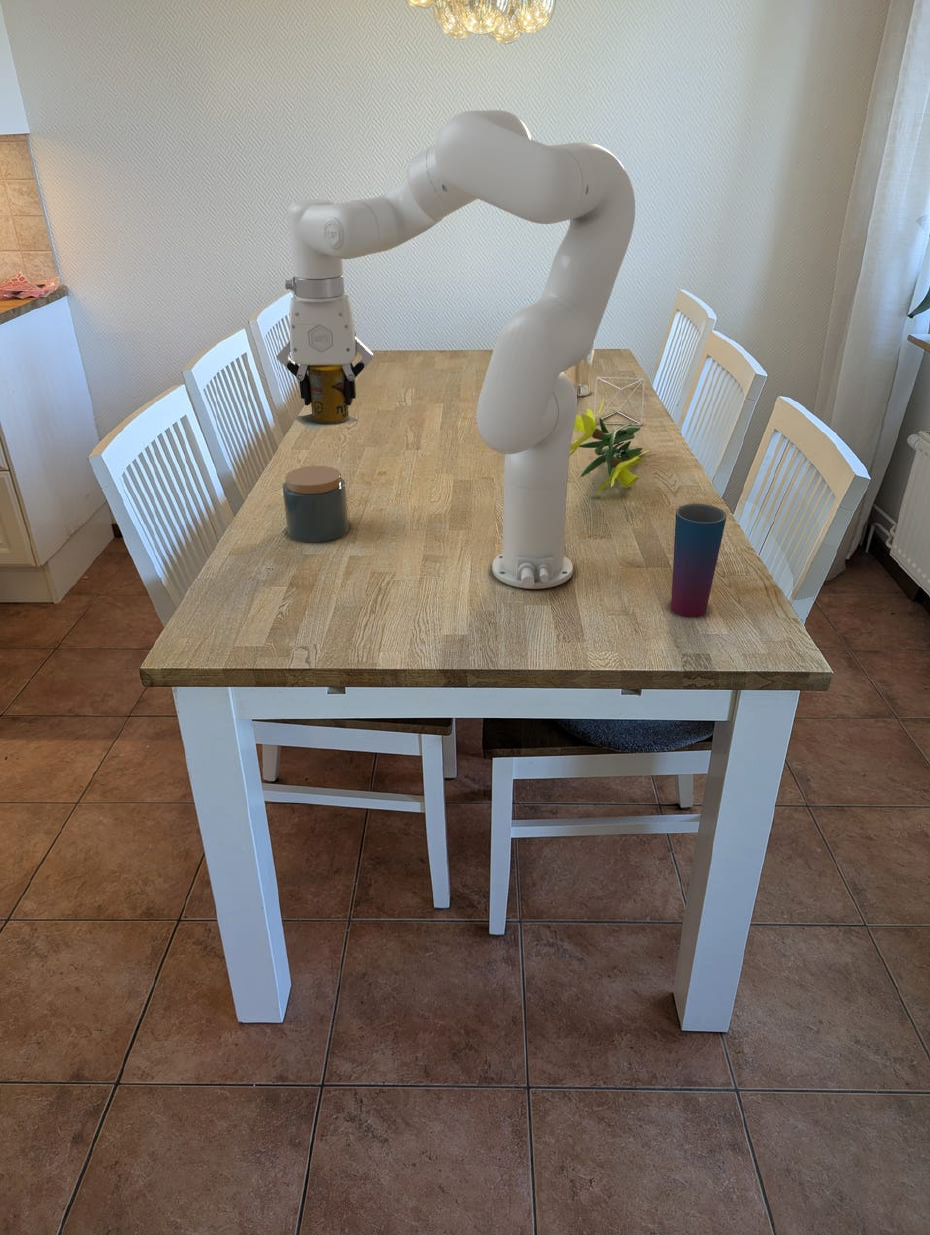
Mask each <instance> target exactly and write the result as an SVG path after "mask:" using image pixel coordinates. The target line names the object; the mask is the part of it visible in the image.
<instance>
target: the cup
mask: <svg viewBox="0 0 930 1235" xmlns="http://www.w3.org/2000/svg"><path fill="white" fill-rule="evenodd" d="M727 517H728V515H727V513H726V511H725V510H723V509H722V508H721V507H717V506H714V505H711V504H706V503H688V504H683V505H681V506H678V507H677V508H676V510H675V523H674V540H673V541H674V542H673V561H672V580H671V601H670V609H671V610H672V612H674V613H675V614H676V615H679V616H682V617H688V618H695V617H700V616H703V615H704V614H705V613H706V612H707V608H708V605H709V599H710V595H711V590H712V585H713V581H714V576H715V571H716V569H717V568H716V567H717V563H718V558H719V555H720V549H721V546H722V540H723V535H724V531H725V527H726V522H727Z"/></svg>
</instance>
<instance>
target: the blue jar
mask: <svg viewBox="0 0 930 1235" xmlns="http://www.w3.org/2000/svg"><path fill="white" fill-rule="evenodd" d="M284 478H285V479H284V480H285V482H284V483H282V494H283V503H284V513H285V521H286V531H287V535H288V536H289V537H290V538H291V539H293V540H294V541H298V542H302V543H309V544H311V543H313V544H314V543H316V544H318V543H326V542H331V541H335V540H337V539H340V538H342V537H344V536H345V535H346V534H347V533H348V531H349V518H348V516H349V515H348V505H347V502H348V501H347V491H346V489H347V488H346V481H345V480H344V479H343V477H342V473H341V471H340V470H338V469H337V468H335V467H332V466H327V465H308V466H302V467H297V468H295V469H292V470H290V471H289V472H287V473H286V474H285V476H284Z"/></svg>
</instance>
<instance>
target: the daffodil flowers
mask: <svg viewBox="0 0 930 1235" xmlns="http://www.w3.org/2000/svg"><path fill="white" fill-rule="evenodd" d="M604 401H605V398H604V397H603V398H602V401H601V404H600V407H599V409H598V413H597V415H596V419H595V420H596V421H595V420H594V411H592V409H590V408H587V409H586V414H584V413H582V414H581V416H580V415H579V414H576V420H575V425H574V430H576V431H578V432H581V433H584V434H583V435H581V436H580V438H578V439H576V440H575V441H573V443H571V447H570V456H572V455H573V454H574V453H575V452H576V451H577V450H578V448H582V449H583V448H584V449H594V453H595V454H596V455H597V456H598V457H597V458H595V459H594V460H592V461H591V462H590V463H589V464H588V465H587V466H586V468H585V469H584V470H583V472H582V473H581V475H580V478H582V477H584V476H586V475H588V474H589V473H591V472H592V471H594V470H595V469H596V468H598V467H599V466H601V465H602V464H604V463H605V462H606V466H607V474H608V478H607V479H605V481H604V482H603V483H602V484H601V485H600V487H599V489H598V491H597V494H596V496H595V498H597V497H598V496H599V495H600V494H601V493H602V492H603V491H604V490H605V488H606V487H607V486H608V485H609V484H610V488H612V487H613V486H614V485H615V480H617V482H618V483H619V484H620V485H621V486H622V487H624V488H626V489H628V488H631V487H632V486H633V485H635V483H637V481H639V476H637V475H636V474H634V473H633V472H632V471H630V470H629V468H632V467H634V466H637V465H638V464H644V463H647V462H649V461H650V460H649V459H648V460H647V459H643V460H642V459H641V460H638V459H640V456H641V455H644V454H645V453H647V452H649V451H650V449H647V450H645V451H643V452H642V450H643V449H644V448H643V447H636V448H632V449H631V448H630V445H631V443H632V440H634V439H635V433H637V432H638V431H639V430H641V428H640V427H635V426H633V425H632V424H633V423H626V425H624V424H622V425H621V426H620V427H617V428H616V429H614V430H612V431H611V432H609V430H608V429H607V427H606V424H604V423H605V422H603V419H602V418H601V417H599V418H598V416H599V415H600V414H601V412H602V409H603V406H604ZM601 419H602V420H601ZM597 420H600V421H599V423H600V424H599V426H600V429H599V428H597V425H598V423H597ZM630 426H631V427H630ZM590 438H593V439H595V440H596V441H590V442H585V441H588V440H589V439H590ZM626 441H627V442H626ZM584 442H585V443H584ZM582 443H583V444H582ZM604 447H606V448H604ZM652 449H654V448H651V450H652ZM625 457H628V458H630V459H629V460H624V461H622V458H625Z"/></svg>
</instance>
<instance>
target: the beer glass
mask: <svg viewBox="0 0 930 1235" xmlns="http://www.w3.org/2000/svg"><path fill="white" fill-rule="evenodd" d="M594 354H595V342H594V343H593V345H592V348H591V350H590V352H589V353H588V355H587V356H586V357H585V358H584V359H583V360H582V361H581V362H579V363H578V364H576V365H574V366H573V367H571V368H569V369H567V370H566V372H567V373H566V375H567V376H568V378H569V379H570V380H571V382H572V384H573V386H574V388H575V391H576V395H577V398H578V397H587V396H589V395H590V392H591V391H590V382H589V381H590V373H591V369H592V365H593V360H594V356H595V355H594Z"/></svg>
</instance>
